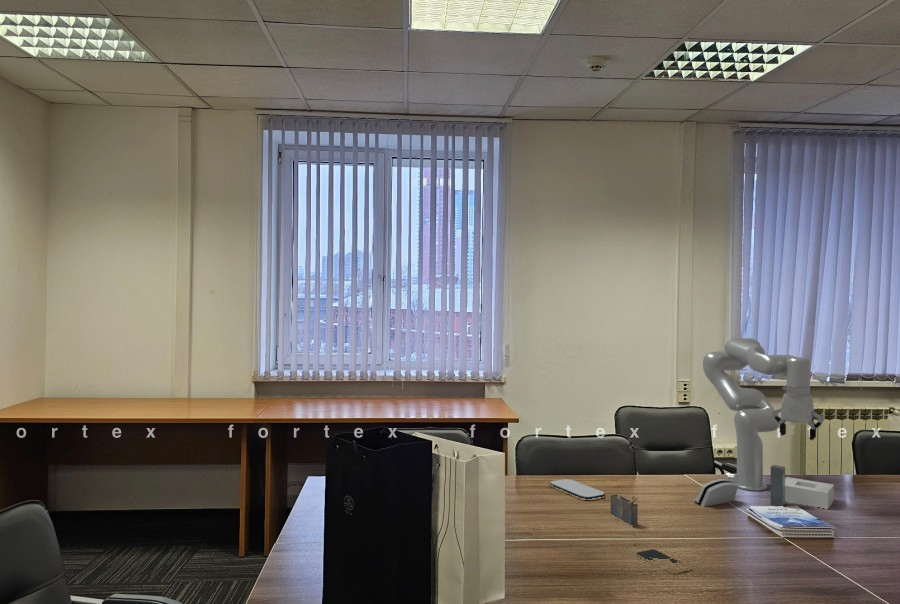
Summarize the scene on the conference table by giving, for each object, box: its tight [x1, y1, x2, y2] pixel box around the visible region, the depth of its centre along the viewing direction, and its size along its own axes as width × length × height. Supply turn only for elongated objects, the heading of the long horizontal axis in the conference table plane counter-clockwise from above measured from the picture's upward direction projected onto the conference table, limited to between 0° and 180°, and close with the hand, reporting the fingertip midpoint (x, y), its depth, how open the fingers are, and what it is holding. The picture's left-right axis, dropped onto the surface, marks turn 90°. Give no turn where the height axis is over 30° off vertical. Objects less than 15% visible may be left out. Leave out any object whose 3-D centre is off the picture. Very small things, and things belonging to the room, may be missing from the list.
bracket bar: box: [770, 464, 786, 507], centre depth 224 cm, size 4×4×14 cm
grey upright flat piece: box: [610, 493, 639, 526], centre depth 206 cm, size 11×3×10 cm, turn 20°
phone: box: [636, 549, 684, 564], centre depth 172 cm, size 7×1×15 cm
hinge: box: [693, 478, 739, 507], centre depth 225 cm, size 17×5×10 cm, turn 116°
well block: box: [785, 476, 835, 510], centre depth 229 cm, size 16×14×6 cm
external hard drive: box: [549, 478, 606, 499], centre depth 238 cm, size 24×12×2 cm, turn 28°
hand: (797, 437), depth 223 cm, fingers open, 9 cm apart
